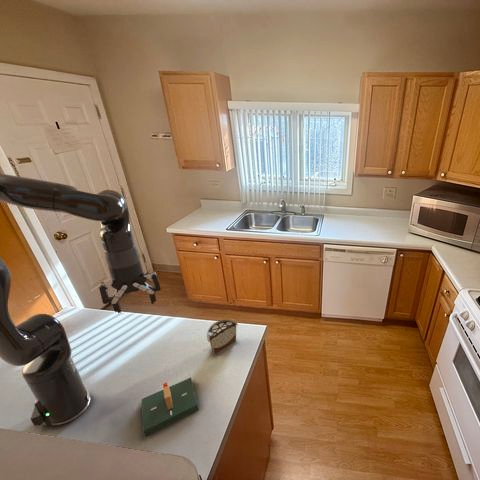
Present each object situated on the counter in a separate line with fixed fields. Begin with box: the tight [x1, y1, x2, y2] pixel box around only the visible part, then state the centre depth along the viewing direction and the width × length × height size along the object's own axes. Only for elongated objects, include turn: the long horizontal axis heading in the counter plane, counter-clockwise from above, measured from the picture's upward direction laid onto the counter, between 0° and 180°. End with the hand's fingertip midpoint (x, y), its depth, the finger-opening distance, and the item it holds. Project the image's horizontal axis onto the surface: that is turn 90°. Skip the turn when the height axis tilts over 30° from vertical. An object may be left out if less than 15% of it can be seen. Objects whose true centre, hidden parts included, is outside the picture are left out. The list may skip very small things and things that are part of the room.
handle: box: [162, 381, 173, 410], centre depth 77 cm, size 6×1×5 cm, turn 35°
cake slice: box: [206, 318, 238, 357], centre depth 100 cm, size 12×6×10 cm, turn 141°
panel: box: [141, 377, 199, 437], centre depth 78 cm, size 14×11×3 cm
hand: (136, 306), depth 79 cm, fingers open, 8 cm apart
